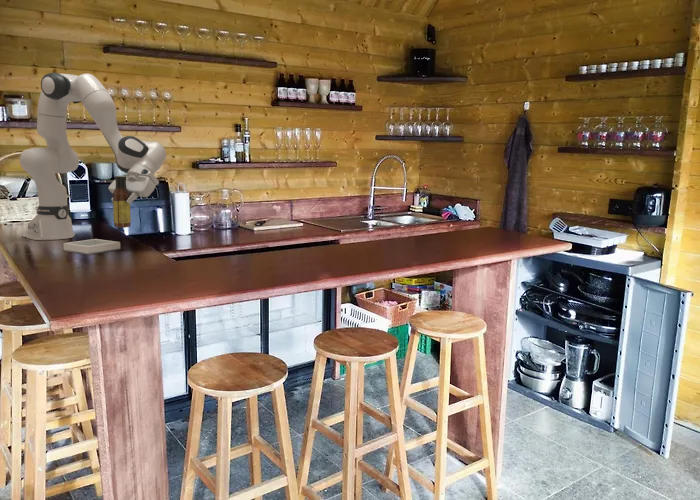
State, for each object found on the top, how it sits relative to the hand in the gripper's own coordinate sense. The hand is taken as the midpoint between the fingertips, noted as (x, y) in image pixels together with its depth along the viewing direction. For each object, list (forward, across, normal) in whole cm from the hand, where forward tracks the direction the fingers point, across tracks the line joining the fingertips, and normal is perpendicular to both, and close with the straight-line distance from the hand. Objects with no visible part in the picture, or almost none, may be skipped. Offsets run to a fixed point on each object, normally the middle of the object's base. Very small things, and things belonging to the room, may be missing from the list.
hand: (120, 202), depth 224 cm
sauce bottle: (+6, 0, +8) cm, 10 cm away
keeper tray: (+18, -8, +8) cm, 22 cm away
